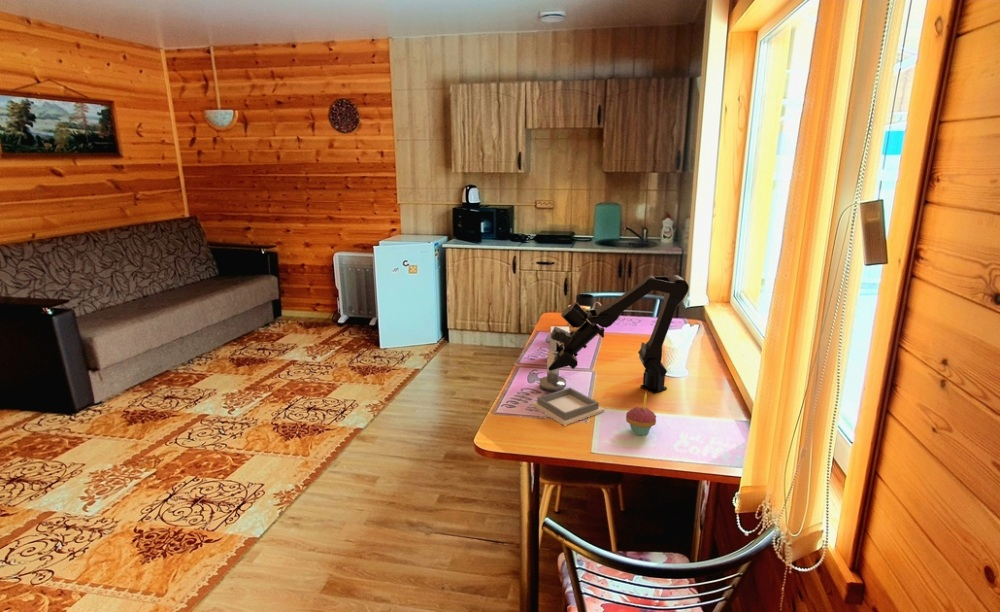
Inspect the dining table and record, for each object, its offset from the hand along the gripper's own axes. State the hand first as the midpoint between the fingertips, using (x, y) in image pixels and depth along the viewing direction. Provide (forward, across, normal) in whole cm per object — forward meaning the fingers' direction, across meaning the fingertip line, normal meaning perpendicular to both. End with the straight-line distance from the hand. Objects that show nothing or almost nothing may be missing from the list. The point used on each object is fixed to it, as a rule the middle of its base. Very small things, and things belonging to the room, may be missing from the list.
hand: (548, 367), depth 187 cm
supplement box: (+2, -25, +9) cm, 27 cm away
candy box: (-5, -46, +16) cm, 49 cm away
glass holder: (-9, -62, +20) cm, 66 cm away
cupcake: (-12, +30, +23) cm, 40 cm away
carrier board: (+2, +16, +9) cm, 18 cm away
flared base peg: (+4, 0, +6) cm, 7 cm away
